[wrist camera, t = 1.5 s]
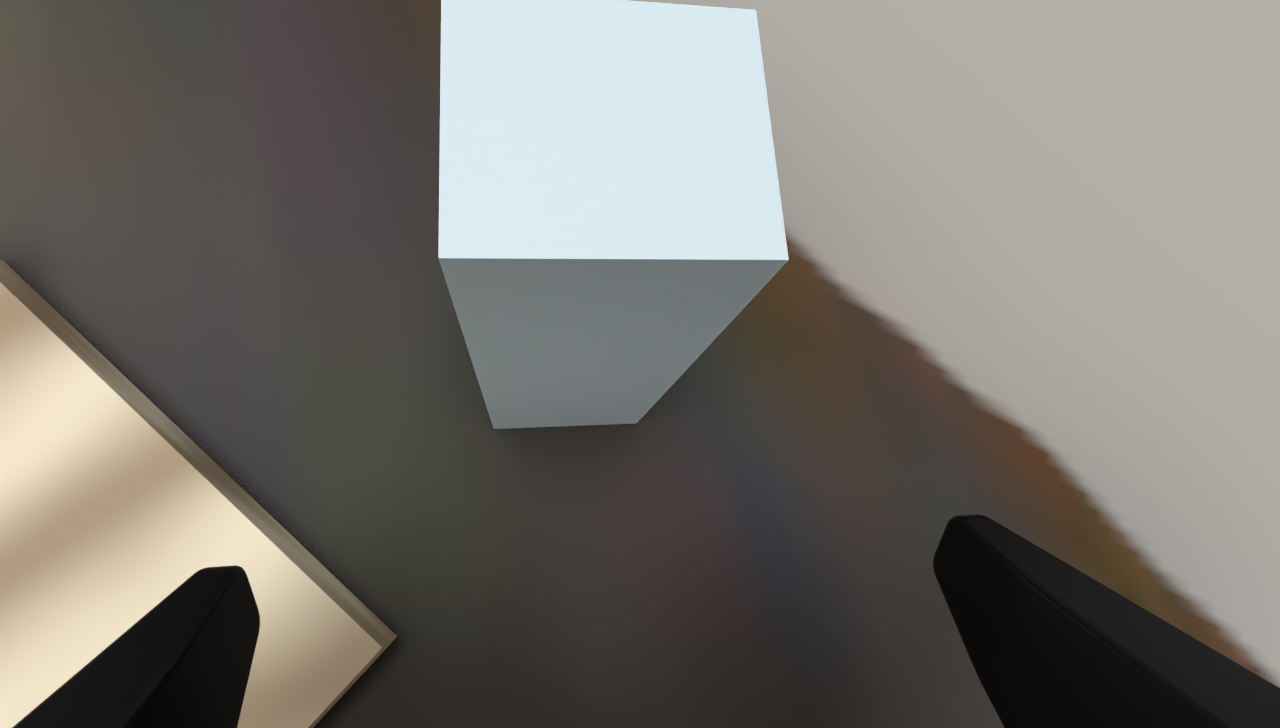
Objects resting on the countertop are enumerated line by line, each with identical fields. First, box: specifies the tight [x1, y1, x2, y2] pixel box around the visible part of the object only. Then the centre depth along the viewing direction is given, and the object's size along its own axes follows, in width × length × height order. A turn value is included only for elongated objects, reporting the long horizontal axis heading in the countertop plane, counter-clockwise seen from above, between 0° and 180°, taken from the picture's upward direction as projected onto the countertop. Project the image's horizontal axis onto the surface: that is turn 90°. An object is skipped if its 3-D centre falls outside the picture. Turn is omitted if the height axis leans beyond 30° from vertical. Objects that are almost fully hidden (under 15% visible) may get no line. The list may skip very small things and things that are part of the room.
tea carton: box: [438, 0, 789, 429], centre depth 15 cm, size 4×4×13 cm
